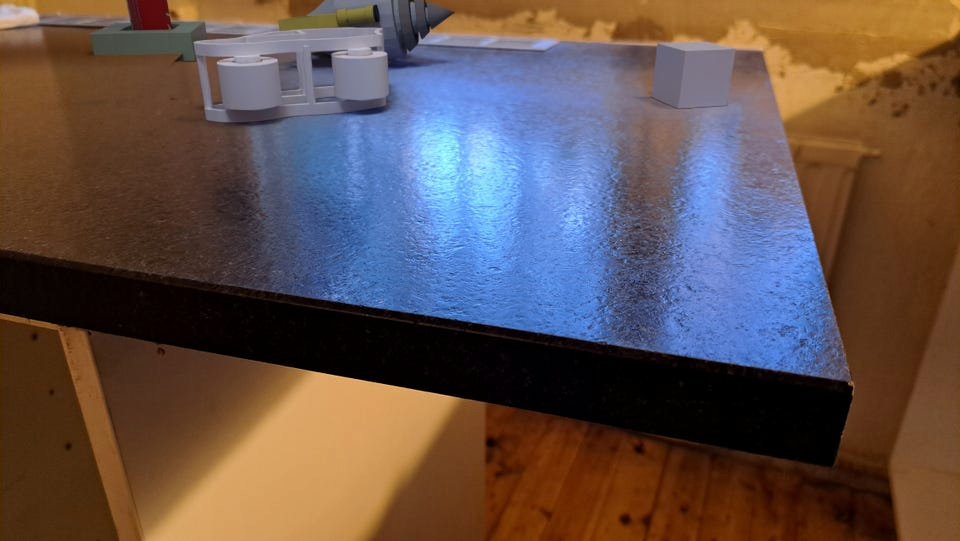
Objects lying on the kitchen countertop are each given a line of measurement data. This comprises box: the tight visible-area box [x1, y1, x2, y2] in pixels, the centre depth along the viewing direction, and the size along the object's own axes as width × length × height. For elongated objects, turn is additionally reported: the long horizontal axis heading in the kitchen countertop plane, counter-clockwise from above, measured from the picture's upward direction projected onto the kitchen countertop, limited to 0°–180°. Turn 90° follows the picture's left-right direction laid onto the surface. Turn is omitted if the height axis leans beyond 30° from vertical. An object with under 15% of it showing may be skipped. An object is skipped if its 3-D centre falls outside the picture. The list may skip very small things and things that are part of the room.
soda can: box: [125, 0, 172, 31], centre depth 103 cm, size 6×6×12 cm
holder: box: [89, 20, 209, 63], centre depth 105 cm, size 13×13×4 cm
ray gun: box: [277, 0, 456, 65], centre depth 99 cm, size 11×24×20 cm
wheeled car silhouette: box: [193, 28, 390, 123], centre depth 73 cm, size 20×11×7 cm, turn 115°
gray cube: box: [651, 40, 737, 110], centre depth 78 cm, size 6×6×6 cm
